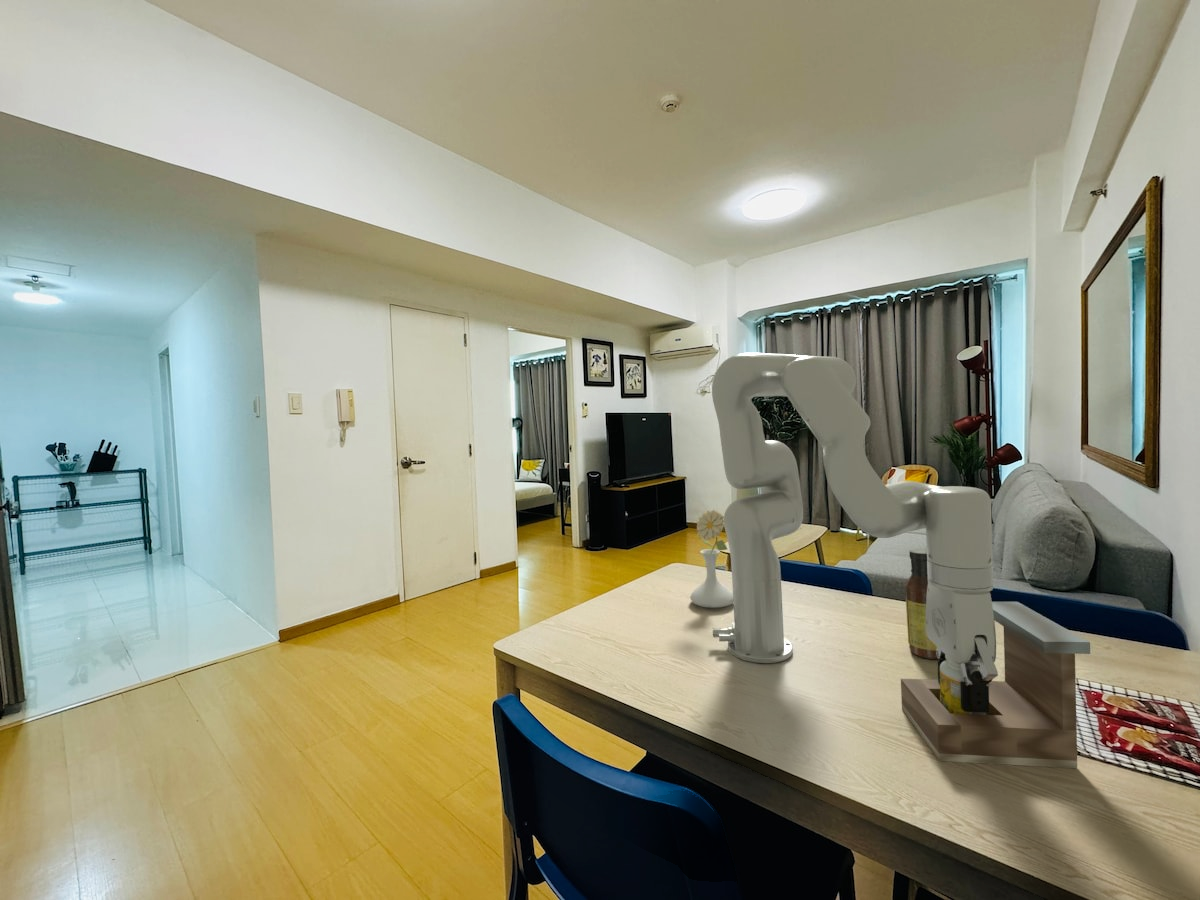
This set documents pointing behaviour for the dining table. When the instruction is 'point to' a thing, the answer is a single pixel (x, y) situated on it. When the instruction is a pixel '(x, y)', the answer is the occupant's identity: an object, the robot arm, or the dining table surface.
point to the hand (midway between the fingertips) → (962, 696)
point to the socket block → (1010, 700)
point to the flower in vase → (711, 564)
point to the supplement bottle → (953, 685)
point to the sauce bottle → (918, 606)
